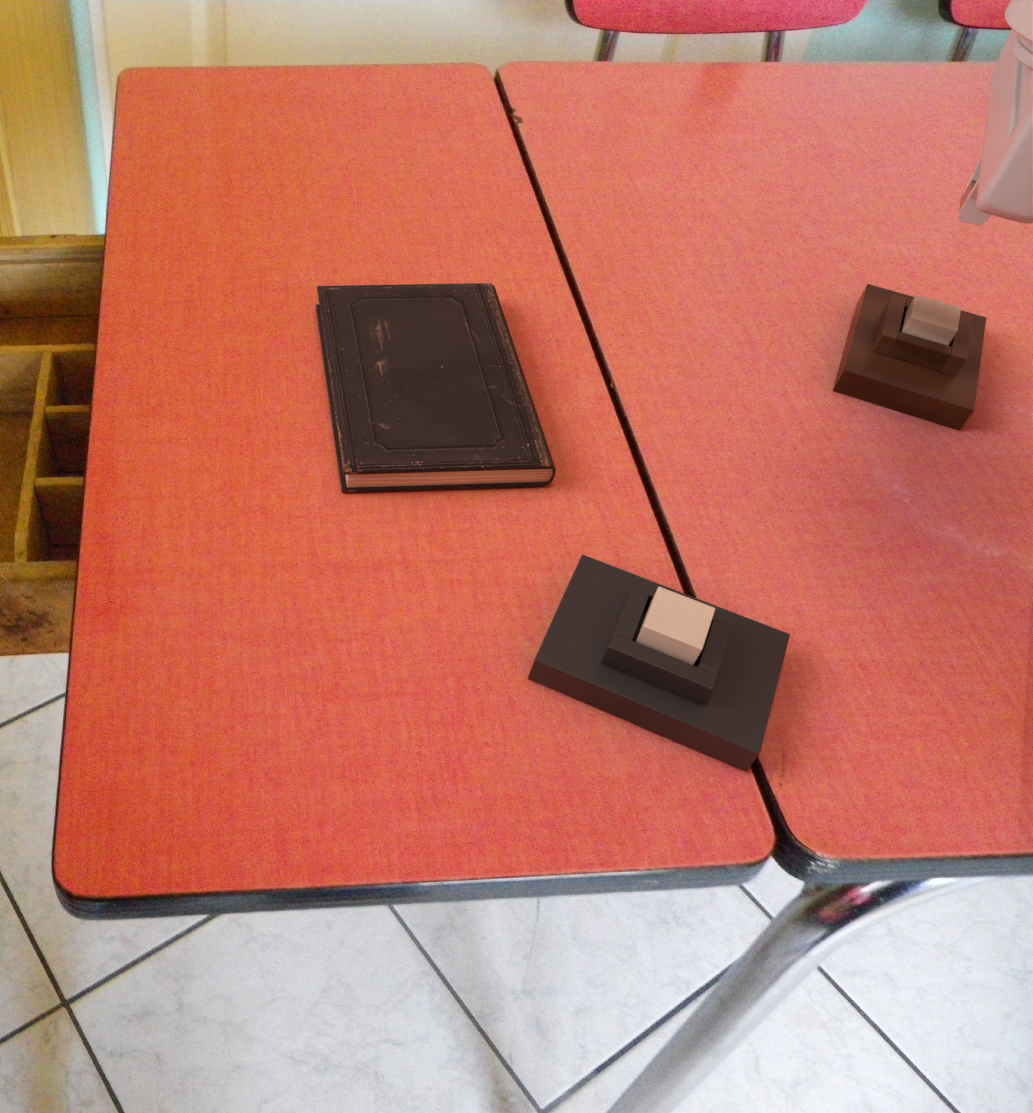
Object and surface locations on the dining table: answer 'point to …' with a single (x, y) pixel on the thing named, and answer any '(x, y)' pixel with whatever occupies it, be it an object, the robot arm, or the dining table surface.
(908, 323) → the far key
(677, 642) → the near key
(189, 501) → the dining table surface
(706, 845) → the dining table surface
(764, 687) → the near block
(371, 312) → the hardcover book
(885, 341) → the far block
